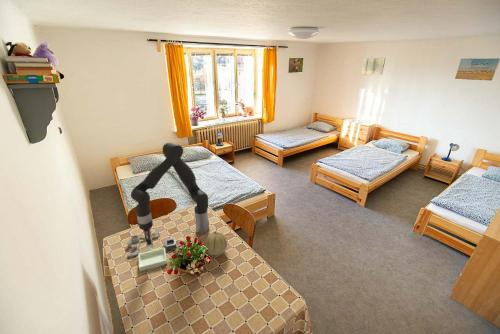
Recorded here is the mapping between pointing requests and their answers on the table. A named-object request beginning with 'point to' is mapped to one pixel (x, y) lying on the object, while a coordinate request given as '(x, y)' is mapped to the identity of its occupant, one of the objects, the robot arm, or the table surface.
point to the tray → (152, 259)
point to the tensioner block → (170, 244)
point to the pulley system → (136, 239)
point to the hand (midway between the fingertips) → (149, 242)
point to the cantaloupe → (216, 243)
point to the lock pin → (151, 244)
